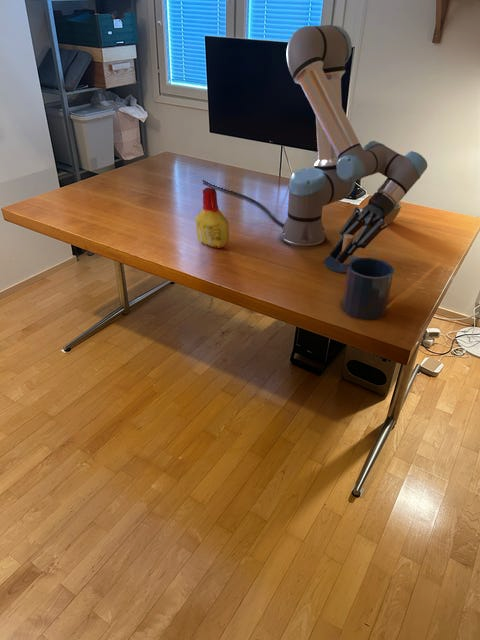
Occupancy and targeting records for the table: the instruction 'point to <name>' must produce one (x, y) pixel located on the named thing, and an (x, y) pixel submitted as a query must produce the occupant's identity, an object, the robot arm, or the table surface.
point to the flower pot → (393, 214)
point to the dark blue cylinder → (367, 288)
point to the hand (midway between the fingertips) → (335, 258)
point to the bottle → (212, 221)
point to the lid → (334, 263)
